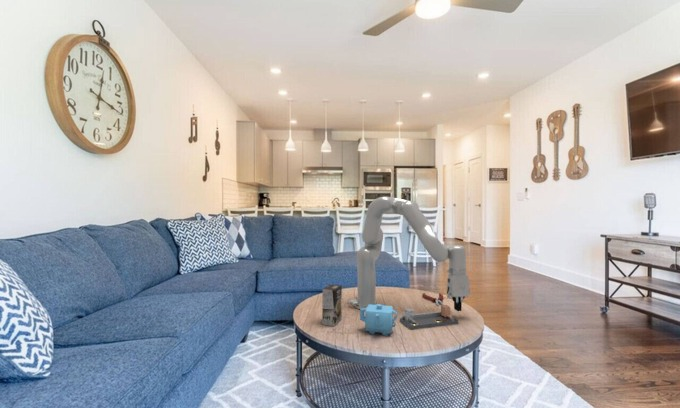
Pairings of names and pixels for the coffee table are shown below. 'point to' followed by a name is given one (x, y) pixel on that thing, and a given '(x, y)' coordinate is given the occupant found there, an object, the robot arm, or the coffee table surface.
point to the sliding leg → (445, 311)
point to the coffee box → (332, 305)
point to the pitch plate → (425, 320)
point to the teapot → (378, 318)
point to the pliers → (434, 299)
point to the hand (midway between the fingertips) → (457, 310)
